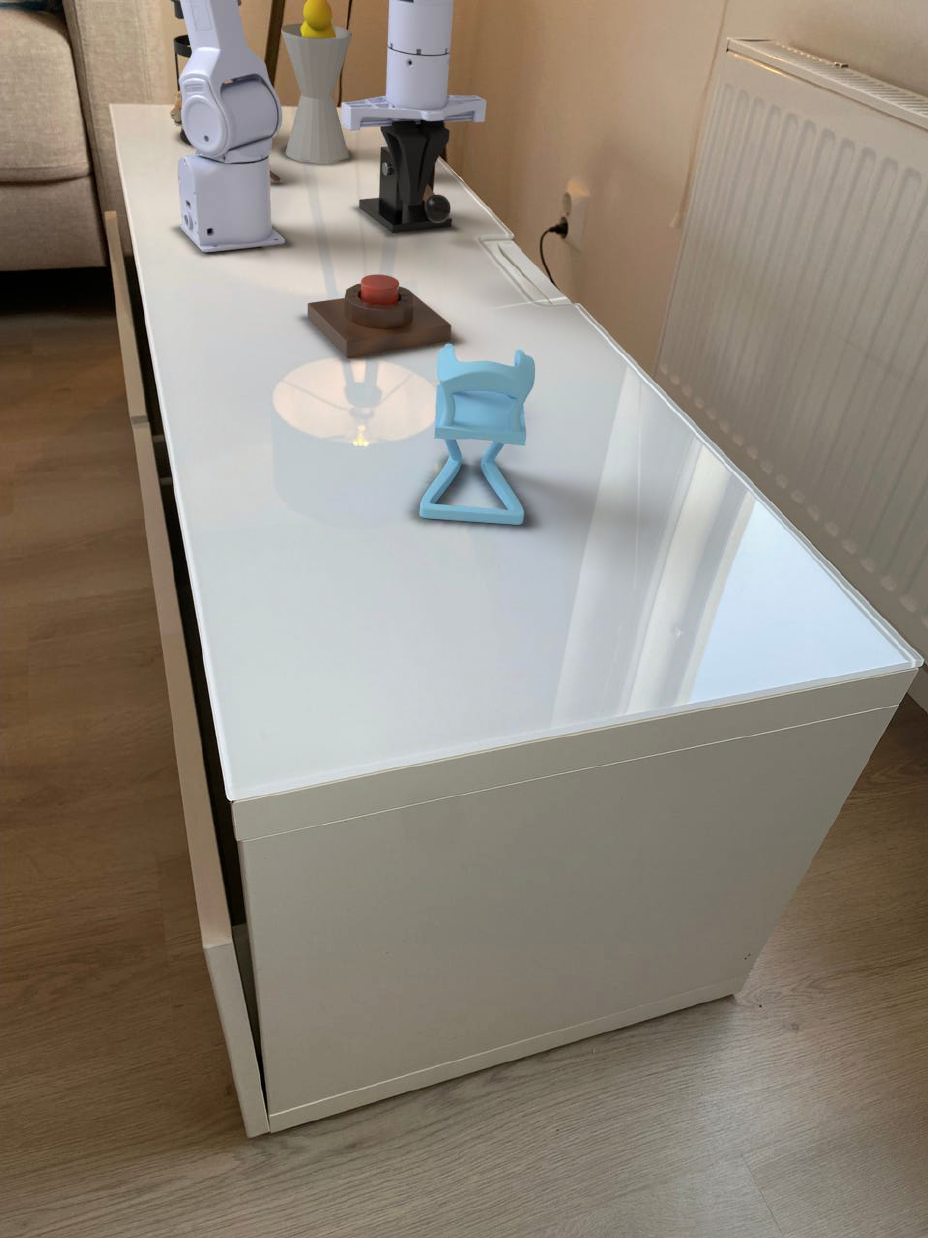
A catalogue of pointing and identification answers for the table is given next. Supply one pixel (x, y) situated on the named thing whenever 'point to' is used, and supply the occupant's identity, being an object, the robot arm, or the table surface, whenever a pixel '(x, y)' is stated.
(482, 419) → the chair
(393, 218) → the bracket
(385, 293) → the button
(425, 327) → the button block
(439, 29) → the robot arm
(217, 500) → the table surface
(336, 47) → the grey hourglass vase
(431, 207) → the lever
